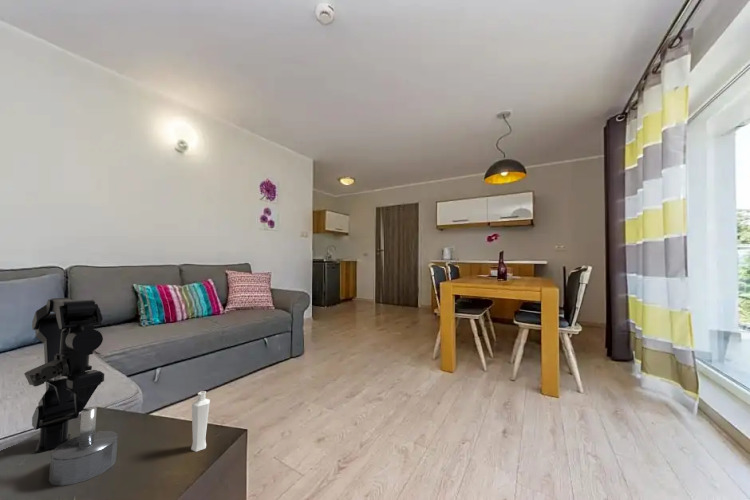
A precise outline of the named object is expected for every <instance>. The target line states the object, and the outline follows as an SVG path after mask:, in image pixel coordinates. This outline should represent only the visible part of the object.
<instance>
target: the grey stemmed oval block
mask: <svg viewBox="0 0 750 500" xmlns="http://www.w3.org/2000/svg"><path fill="white" fill-rule="evenodd" d="M97 409H98V407H97V406H88V407H84V409H83V410H82V412H80V413H81V415H80V427H79V435H78V436H75V437H74V438H70V440H68V441H66V442H64V443H62V444H60V445H59V446H57V447H56V448H53V449H52V452H51V456H50V463H49V472H48V473H49V474H48V476H49V477H48V482H49V483H50V484H51V485H53V486H59V487H60V486H61V487H63V486H70V485H75V484H78V483H82V482H84V481H88V480H91V479H93V478H95V477H98V476H100V475H102V474H103V473H104V472H106V471H108V470H109V469H111V468H112V467H113V466H114V464H115V463H116V462H117V454H118V453H117V452H118V450H117V449H118V439H119V438H118V437H119V435H118V433H117V432H116V431H113V430H99V431H96V425H97V424H96V420H97V412H98V411H97Z"/></svg>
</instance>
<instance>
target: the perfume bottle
mask: <svg viewBox="0 0 750 500" xmlns="http://www.w3.org/2000/svg"><path fill="white" fill-rule="evenodd" d="M206 394H207V391H203V390H202V391H201V390H200V392H197V400H196V401H194V402H192V404H191V419H192V420H191V421H192V422H191V424H192V425H191V427H192V428H191V429H192V444H191V447H190V450H191V451H193V452H199V451H201V450H202V451H203V450H205V449H206V448H207V442H206V438H207V437H206V435H207V429H208V428H207V427H208V420H209V411H210V410H209V409H210V404H211V403H210V401H211V399H209V398H206Z"/></svg>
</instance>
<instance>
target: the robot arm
mask: <svg viewBox="0 0 750 500" xmlns="http://www.w3.org/2000/svg"><path fill="white" fill-rule="evenodd" d="M103 319H104V318H103V315H102V311H101V308H100V307H99V304H98V303H96V301H95V300H94V299H88V300H87V299H86V300H85V299H84V300H83V299H82V300H74V299H73V298H71V297H70V298H69V297H58V298H57V297H55V298H51V299H50V298H49V299H48V300H47V301H46V304H45V305H43V306H42V307H40V308H39V309H37V310H36V311H35V313H34V316H33V318H32V323H31V329H32V331H34V333H35V334H34V336H35V338H36V339H38V340H39V341H40V342H41V343H42V344H43V356H44V357H43V358H44V363H43V364H41V365H39V366H36V367H34V368H32V369H29V370H27V371H25V372H24V376H25V378H26V381H27V382H28V385H30V386H33V387H35V388H36V387H39V386H41V385H44V384H45V393H44V394H43V395H42V397H41V398H40V400H39V401H38V404H37V406H35V410H34V411H33V415H32V417H31V418H32V419H31V426H32V427H33V428H34V430H35V431H37V430H39V440H38V442H36V443H37V444H36V447H35V450H34V451H35V452H34V453H35V454H37V453H42V452H46V451H48V450H54V449H55V448H56V447H57V446H59V445H60V444H62V443H64V442H66V441H68V440H70V439H71V433H69V430H70V429H69V428H70V420H71V421H72V420H74V419H78V418H79V416H80V413H81V412H82V410H83V409H85V408H86V405H87V404H88V402H89V400H90V399H91V398H92V396H93V395H94V392H96V390H97V389H98V387H99V386H100V385H101V384H102V383H103V382H105V373H104V372H103V371H100V370H97V369H93V366H92V365H90V356H91V355H94V354H93V353H94V351H96V350H97V349H98V348H100V346H102V343H103V340H104V338H103V337H104V336H103V334H102V332H101V331H99V330H97V329H95V328H94V327H95V326H101V325H102V321H103Z"/></svg>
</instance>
